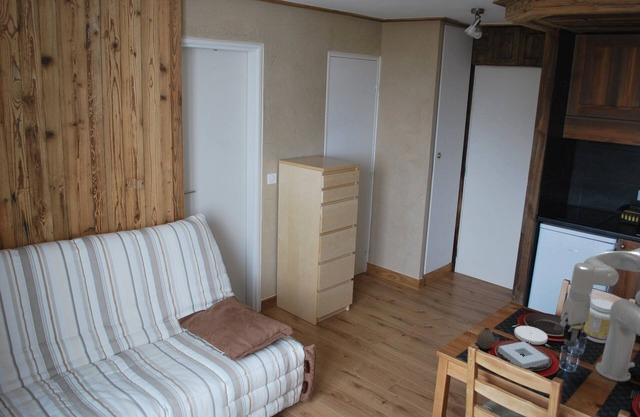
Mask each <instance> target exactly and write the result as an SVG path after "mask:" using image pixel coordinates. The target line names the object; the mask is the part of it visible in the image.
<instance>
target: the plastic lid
mask: <svg viewBox="0 0 640 417" xmlns="http://www.w3.org/2000/svg"><path fill="white" fill-rule="evenodd" d="M513 334H514V336H515V338H516V339H517V340H520V341H521V342H523V341H526V342H529V343H528V344H530V343H531V344H530V345H537V346H538V345H544V344H546V343H547V342H548V334H547V333H546V332H544V331H543V330H541V329H539V328H537V327H533V326H530V325H529V326H528V325H520V326H516V327H515V328H514V333H513Z"/></svg>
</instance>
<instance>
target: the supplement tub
mask: <svg viewBox="0 0 640 417" xmlns="http://www.w3.org/2000/svg"><path fill="white" fill-rule="evenodd" d="M613 303H614V302H612V301H609V300H607V299H601V298H593V299H592V300H590V312H589V317H588V318H589V320H588V321H587V322H586V323H585V325H584V326H583V329H582V333H583V332H585V333H586V334H587V338H586V339H588V340H590V341H592V342H595V343H599V344H606V340H607V335H608V331H609V326H610V309H611V306H612V304H613Z"/></svg>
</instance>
